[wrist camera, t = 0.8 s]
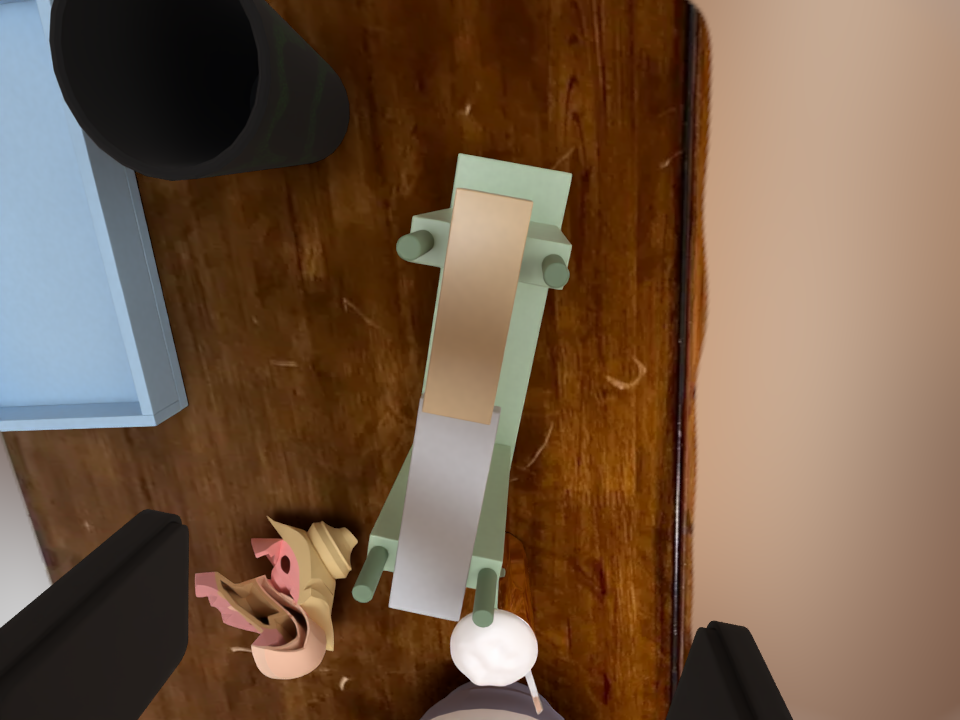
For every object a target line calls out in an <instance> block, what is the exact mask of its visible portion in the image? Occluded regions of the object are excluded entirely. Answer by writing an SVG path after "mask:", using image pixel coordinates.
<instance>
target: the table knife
mask: <svg viewBox="0 0 960 720" xmlns="http://www.w3.org/2000/svg"><path fill="white" fill-rule="evenodd" d="M532 208H533V201H532V200H527V199H522V198H516V197H511V196H505V195H500V194H494V193H489V192H483V191H478V190H472V189H467V188H456V192H455V199H454V205H453V212H452V218H451V225H450V231H449V238H448V244H447V251H446V257H445V264H444V270H443V277H442V283H441V290H440V296H439V303H438V309H437V316H436V322H435V329H434V335H433V342H432V348H431V355H430V361H429V368H428V374H427V381H426V387H425V392H423V394H422V396H421V398H420V402H419V409H418V415H417V422H416V429H415V435H414V442H413V448H412V455H411V461H410V468H409V475H408V481H407V488H406V494H405V501H404V508H403V514H402V521H401V527H400V534H399V541H398V547H397V554H396V560H395V567H394V574H393V580H392V587H391V593H390V600H389V607H390V608H394V609H399V610H404V611H409V612H413V613H418V614H423V615H428V616H433V617H438V618H442V619H447V620H452V621H457V622H458V621H459V619H460V614H461V609H462V604H463V599H464V594H465V589H466V584H467V579H468V574H469V569H470V564H471V559H472V554H473V549H474V544H475V539H476V534H477V529H478V524H479V519H480V514H481V509H482V504H483V499H484V494H485V489H486V484H487V479H488V474H489V469H490V464H491V459H492V454H493V449H494V444H495V439H496V434H497V429H498V424H499V419H500V413H501V407H498V406H494V403H495V398H496V393H497V388H498V382H499V377H500V372H501V367H502V362H503V357H504V352H505V346H506V341H507V336H508V331H509V326H510V321H511V316H512V310H513V305H514V300H515V295H516V290H517V285H518V280H519V275H520V269H521V264H522V259H523V254H524V249H525V244H526V239H527V233H528V228H529V223H530V218H531V213H532Z"/></svg>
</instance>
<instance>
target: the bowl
mask: <svg viewBox="0 0 960 720" xmlns="http://www.w3.org/2000/svg"><path fill="white" fill-rule="evenodd" d="M538 694H539V693H538ZM539 697H540V700H541V703H542V706H543V711H542V712H541V713H540V714H539V715H538V714H537V712H536V709H535V706H534V703H533V699H532V696H531V693H530V690H529V687H528V686H526V685H524V684H521V683H519V682H514V683H512V684H509V685H506V686H492V685H487V686H479V685H476V684H474V683H473V682H472V681H470V682H468V683H465V684H463V685H461V686H459V687H458V688H456V689H455V690H454V691H452V692H451V693H450V694H449V695H448V696H447V697H445V698H444V699H442V700H440V701H439V702H438V703H436V704H435V705H434V706H432V707H431V708H430V709H429V710H428V711H427V712H426V713H425V714H424V715H423V717H422V718H421V719H420V720H565V719H564V718H563V717H562V716H561V715H559V714H558V713H557V712H556V711H555V710H554V709H553V708H552V707H551V706H550V704H549V703H548V702H547V701H546V699H545V698H544V697H542V696H541V695H540V694H539Z"/></svg>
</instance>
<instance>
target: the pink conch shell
mask: <svg viewBox="0 0 960 720" xmlns="http://www.w3.org/2000/svg"><path fill="white" fill-rule="evenodd" d="M266 516H267V515H266ZM267 517H268V516H267ZM268 519H269V520H270V522H271V524H272V525H273V526H274V528H275V529H276V530H277V532H278V533H279V535H280V536H281V537H282V538H283V539H278V538H252V539H251V543H252V547H253V550H254V553H255V556H256V558H258V557H261V556H263V555H266V556H267V558H268V559H269V560H270V562H271V563H272V565H273V566H274V568H273V570H272V572H271V579H267V578H266V575H263V576H260V577H257V578H254V579H251V580H248V581H245V582H242V583H241V584H233V583H232V582H231V581H229V580H228V579H226V578H225V577H224V576H222V575H221V574H219V573H218V572H207V573H196V574H195V590H196V596H197V597H205V596H208V599H209V602H210V604H211V606H214V607H216V608H217V609H218V610H219V611H220V612H221V614H222V618H223V622H224V623H226V624H228V625H231V626H233V627H237V628H240V629H244V630H248V631H253V632H256V633H259V634H261V635H260V636H259V637H258V638H257V639H256V641H255V642H254V643H253V644H252V645H251V647H252V653H253V657H254V660H255V662H256V665H257V667H258V668H259V670H260V671H261V672H262V673H263V674H264V675H266V676H268V677H270V678H275V679H293V678H297V677H301V676H303V675H306V674H308V673H310V672H311V671H313V670H314V669H315V668H317V666H318V665H319V664H320V663H321V661H322V659H323V656H324V654H325V650H330V651H333V645H334V634H333V627H332V621H331V610H332V605H333V599H334V592H335V586H336V581H335V579H340V578H346V577H347V575H348V573H349V571H350V570H352V569H351V564H350V554H351V551H352V549H353V548H354V546H355V545H356V544H357V543H358V541H357V539H356V538H355V537H354V535H353V534H352V533H351V532H350V531H349V530H348V529H346V528H345V527H343V528H339V529H338V528H333V527H331V526H329V525H327V524H326V523H324V522H323V521H321V522H317V523H313V524H312V525H311V527H310V529H309V530H308V532H306V531H305V530H302V529H299V528H295V527H292V526H289V525H285V524H282V523H278V522H275V521H273V520H272V519H271V518H269V517H268Z"/></svg>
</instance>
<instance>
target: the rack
mask: <svg viewBox="0 0 960 720" xmlns="http://www.w3.org/2000/svg"><path fill="white" fill-rule="evenodd" d="M571 179H572V174H571V173H567V172H561V171H556V170H550V169H545V168H539V167H534V166H528V165H523V164H517V163H511V162H506V161H500V160H495V159H489V158H484V157H478V156H473V155H467V154H462V153H459V154H458V159H457V166H456V172H455V179H454V185H453V192H452V198H451V205H450V208H448V209H443V210H439V211H434V212H429V213H425V214H420V215H415V216H413V217H412V224H411V232H410V234H407V235H404V236H402V237H401V238H400V239H399V240H398V242H397V245H396V250H397V253H398V255H399V256H400V257H401V258H402V259H404V260H406V261H408V262H414V263H419V264H424V265H430V266H435V267H440V268H441V271H440V277H439V284H438V290H437V297H436V303H435V310H434V317H433V323H432V330H431V336H430V343H429V349H428V356H427V363H426V369H425V376H424V382H423V389H422V394H423V392H425V387H426V381H427V374H428V368H429V361H430V355H431V348H432V342H433V335H434V329H435V322H436V316H437V309H438V303H439V296H440V290H441V283H442V277H443V270H444V264H445V257H446V251H447V244H448V238H449V231H450V225H451V218H452V212H453V205H454V199H455V192H456V188H467V189H472V190H478V191H483V192H489V193H494V194H500V195H505V196H511V197H516V198H522V199H527V200H532V201H533V208H532V213H531V218H530V223H529V228H528V233H527V239H526V244H525V249H524V254H523V259H522V264H521V269H520V275H519V280H518V285H517V290H516V295H515V300H514V305H513V310H512V316H511V321H510V326H509V331H508V336H507V341H506V346H505V352H504V357H503V362H502V367H501V372H500V377H499V382H498V388H497V393H496V398H495V403H494V406H498V407H501V413H500V419H499V424H498V429H497V434H496V439H495V444H494V449H493V454H492V459H491V464H490V469H489V474H488V479H487V484H486V489H485V494H484V499H483V504H482V509H481V514H480V519H479V524H478V529H477V534H476V539H475V544H474V549H473V554H472V559H471V564H470V569H469V574H468V579H467V584H466V587H468V588H473V589H476V592H475V600H474V607H473V614H472V620H473V622H474V624H475V625H477V626H478V627H483V628H484V627H488V626H490V625H491V624H492V622H493V619H494V607H495V596H496V591H497V586H498V581H499V577H500V572H501V568H502V563H503V552H504V539H505V525H506V512H507V499H508V486H509V472H510V467H511V462H512V458H513V453H514V448H515V444H516V439H517V434H518V429H519V425H520V420H521V415H522V410H523V406H524V401H525V396H526V392H527V387H528V382H529V377H530V373H531V368H532V363H533V359H534V354H535V349H536V344H537V340H538V335H539V330H540V325H541V321H542V316H543V311H544V307H545V302H546V297H547V292H548V288H553V289H558V290H562V289H563V286H564V285H565V284H566V283H567V282H568V280H569V270H568V268H567V267H568V262H569V258H570V253H571V249H572V245H571V244H570V242H569V241H568V240H567V238H566V237H565V236H564V234H563V233H562V232H561V226H562V221H563V217H564V212H565V207H566V203H567V198H568V193H569V188H570V184H571ZM421 396H422V395H421ZM412 448H413V444H412V446H411V448H410V451H409V453H408V455H407V457H406V459H405V461H404V463H403V466H402V468H401V470H400V472H399V474H398V476H397V478H396V481H395V483H394V485H393V487H392V489H391V491H390V493H389V496H388V498H387V500H386V502H385V504H384V506H383V508H382V511H381V513H380V515H379V517H378V519H377V521H376V523H375V526H374V528H373V530H372V532H371V534H370V539H369V546H368V554H367V559H366V561H365V563H364V565H363V567H362V570H361V572H360V574H359V576H358V579H357V581H356V583H355V585H354V588H353V590H352V595H353V597H354V599H355V600H357V601H359V602H362V603H365V602H368V601H370V600H371V599H372V597H373V595H374V592H375V590H376V587H377V584H378V582H379V579H380V577H381V574H382V572H383V570H386V571H390V572H394V567H395V560H396V554H397V547H398V541H399V534H400V527H401V521H402V514H403V508H404V501H405V494H406V488H407V481H408V475H409V468H410V461H411V455H412Z"/></svg>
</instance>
